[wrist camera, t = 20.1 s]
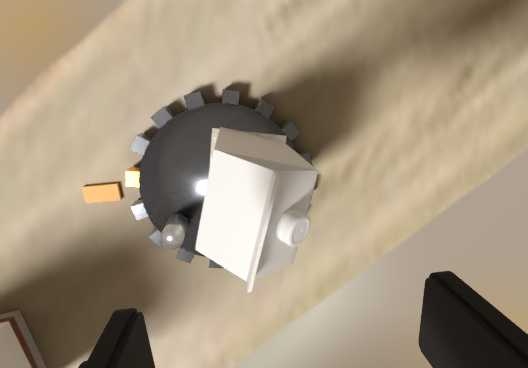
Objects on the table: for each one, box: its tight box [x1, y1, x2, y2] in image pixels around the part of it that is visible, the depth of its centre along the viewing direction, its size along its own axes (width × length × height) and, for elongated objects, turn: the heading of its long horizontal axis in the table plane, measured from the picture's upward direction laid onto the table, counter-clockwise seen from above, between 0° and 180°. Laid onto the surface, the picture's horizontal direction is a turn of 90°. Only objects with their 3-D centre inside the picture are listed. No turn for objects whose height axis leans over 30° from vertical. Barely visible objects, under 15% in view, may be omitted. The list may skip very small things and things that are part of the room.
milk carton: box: [195, 127, 318, 292], centre depth 25 cm, size 7×7×19 cm
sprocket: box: [126, 89, 313, 268], centre depth 34 cm, size 22×22×6 cm
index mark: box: [82, 183, 122, 203], centre depth 36 cm, size 4×2×1 cm, turn 94°
